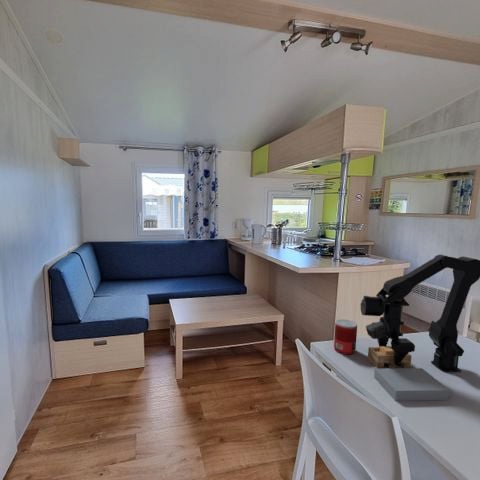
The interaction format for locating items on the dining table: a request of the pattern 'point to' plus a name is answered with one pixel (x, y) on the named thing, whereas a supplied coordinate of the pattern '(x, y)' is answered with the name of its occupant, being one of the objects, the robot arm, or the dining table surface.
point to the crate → (386, 350)
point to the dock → (411, 384)
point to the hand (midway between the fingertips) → (388, 358)
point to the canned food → (345, 336)
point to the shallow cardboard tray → (386, 359)
